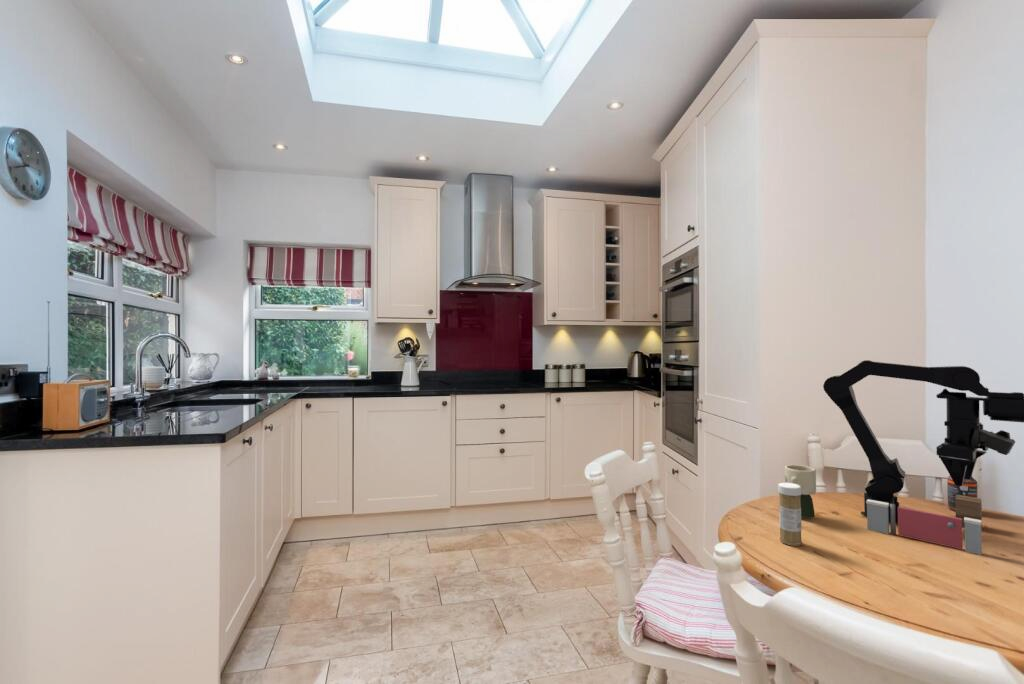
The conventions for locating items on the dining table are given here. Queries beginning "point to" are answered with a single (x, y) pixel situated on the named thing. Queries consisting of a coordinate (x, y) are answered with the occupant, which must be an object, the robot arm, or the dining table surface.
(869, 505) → the pair of grey plates
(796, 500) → the sprinkles bottle
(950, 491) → the supplement bottle
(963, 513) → the block
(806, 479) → the character mug
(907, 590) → the dining table surface
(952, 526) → the door
